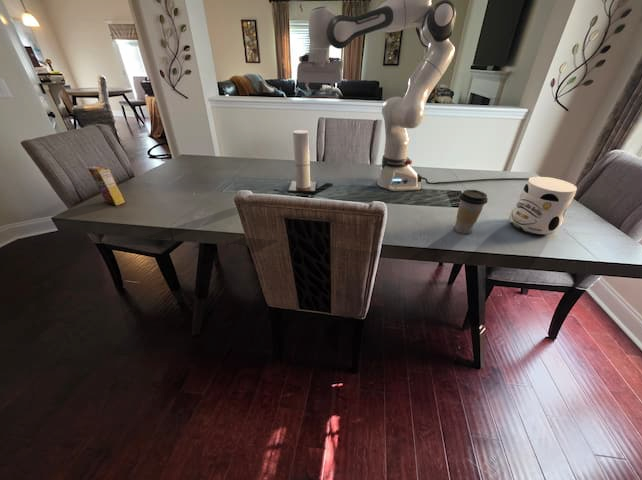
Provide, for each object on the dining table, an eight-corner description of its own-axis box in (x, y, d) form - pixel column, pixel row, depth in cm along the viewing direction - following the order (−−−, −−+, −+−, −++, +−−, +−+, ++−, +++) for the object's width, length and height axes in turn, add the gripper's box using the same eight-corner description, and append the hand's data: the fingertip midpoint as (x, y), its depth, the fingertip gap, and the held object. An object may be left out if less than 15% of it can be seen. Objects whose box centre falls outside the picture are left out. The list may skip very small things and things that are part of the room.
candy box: (104, 201, 127) (86, 167, 117) (114, 198, 130) (97, 164, 120) (115, 206, 123) (98, 171, 114) (125, 202, 126) (109, 168, 117)
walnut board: (316, 183, 148) (316, 181, 147) (314, 193, 137) (314, 191, 137) (292, 182, 148) (292, 180, 147) (288, 192, 138) (288, 190, 137)
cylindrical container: (311, 183, 145) (309, 130, 129) (309, 188, 139) (307, 133, 124) (297, 182, 145) (294, 129, 130) (294, 187, 139) (291, 133, 124)
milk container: (502, 230, 111) (522, 185, 100) (508, 214, 122) (527, 172, 111) (554, 243, 103) (582, 197, 92) (555, 225, 115) (580, 181, 104)
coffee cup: (468, 224, 114) (481, 188, 105) (479, 236, 107) (494, 199, 98) (446, 224, 114) (457, 188, 105) (455, 236, 106) (467, 199, 97)
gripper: (343, 57, 125) (341, 94, 134) (297, 56, 126) (298, 93, 134) (342, 57, 120) (341, 95, 129) (295, 56, 121) (297, 94, 129)
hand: (319, 94), depth 132 cm, fingers open, 8 cm apart
